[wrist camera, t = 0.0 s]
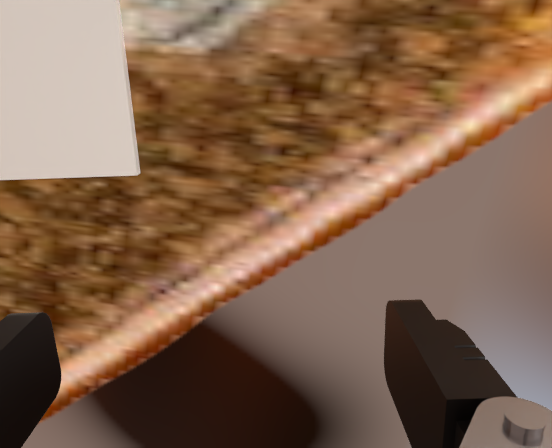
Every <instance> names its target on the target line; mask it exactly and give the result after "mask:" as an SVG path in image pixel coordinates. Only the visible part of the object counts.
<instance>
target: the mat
mask: <svg viewBox="0 0 552 448" xmlns="http://www.w3.org/2000/svg"><path fill="white" fill-rule="evenodd" d="M138 174H140V166H139V158H138V150H137V141H136V133H135V125H134V117H133V109H132V101H131V92H130V84H129V76H128V68H127V60H126V52H125V43H124V35H123V27H122V19H121V11H120V3H119V0H0V180H20V179H48V178H77V177H105V176H134V175H138Z"/></svg>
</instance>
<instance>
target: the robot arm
mask: <svg viewBox="0 0 552 448" xmlns="http://www.w3.org/2000/svg"><path fill="white" fill-rule="evenodd" d="M385 322H386V323H385V347H384V368H385V376H386V381H387V385H388V388H389V391H390V393H391V396H392V398H393V401H394V403H395V406H396V408H397V411H398V414H399V416H400V419H401V421H402V424H403V426H404V429H405V432H406V434H407V437H408V439H409V442H410V444H411V447H412V448H552V411H551V410H549V409H547V408H546V407H543V406H541V405H539V404H537V403H534V402H532V401H528V400H525V399H521V398H517V397H516V395H515V394H514V393H513V392H512V390H511V389H510V388H509V386H508V385H507V384H506V383H505V381H504V380H503V379H502V378H501V376H500V375H499V374H498V373H497V371H496V370H495V369H494V368H493V366H492V365H491V364H490V363H489V361H488V360H485V356H484V355H483V354H482V353H481V351H480V350H479V349H478V348H476V346H475V344H474V342H473V341H472V340H471V339H470V338H469V336H468V335H467V334H466V333H465V331H463V330H462V329H460V328H459V327H457V326H456V325H454V324H452V323H451V322H449V321H448V320H436V319H435V318H434V317H433V316H432V314H431V312H430V311H429V310H428V308H427V307H426V305H425V304H424V303H423V301H422V300H394V301H388V303H387V306H386V321H385ZM60 383H61V368H60V363H59V358H58V353H57V348H56V343H55V338H54V333H53V328H52V323H51V320H50V318H49V316H48V315H47V314H46V313H16V314H9V315H7V316H6V317H5V318H4V319H3V320H1V321H0V448H21V447H22V446H23V444H24V443H25V441H26V440H27V438H28V437H29V436H30V434H31V433H32V431H33V430H34V428H35V427H36V425H37V424H38V423H39V421H40V420H41V418H42V417H43V415H44V414H45V412H46V411H47V410H48V408H49V407H50V405H51V404H52V402H53V401H54V399H55V398H56V396H57V394H58V391H59V388H60Z"/></svg>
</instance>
